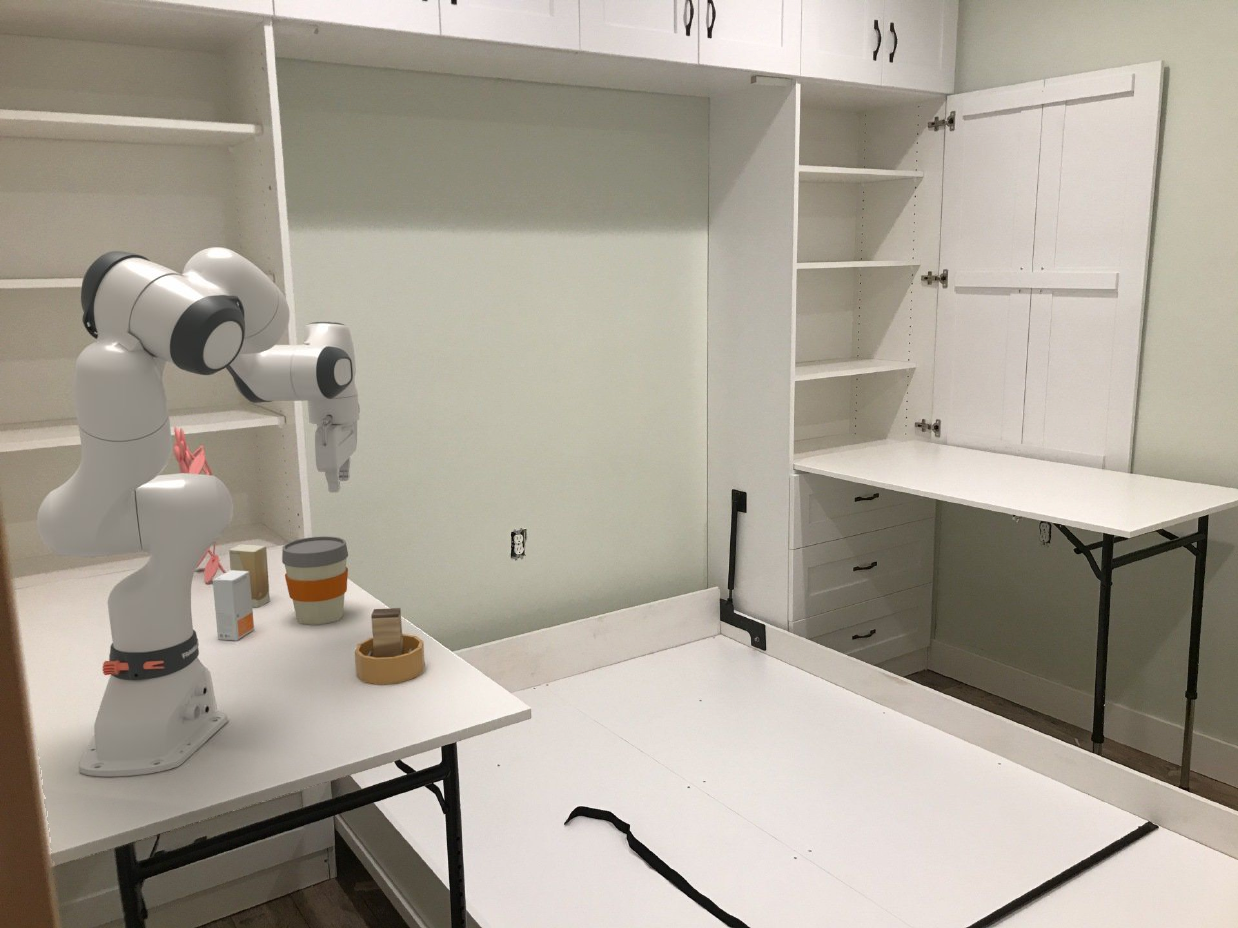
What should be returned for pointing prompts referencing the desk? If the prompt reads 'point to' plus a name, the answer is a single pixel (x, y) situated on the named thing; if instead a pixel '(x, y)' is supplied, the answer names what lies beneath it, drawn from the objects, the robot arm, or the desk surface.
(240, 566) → the skincare box
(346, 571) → the reusable coffee cup
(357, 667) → the bowl
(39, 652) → the desk surface
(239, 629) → the skincare box
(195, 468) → the pink branch
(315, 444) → the robot arm
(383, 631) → the tall wooden block
